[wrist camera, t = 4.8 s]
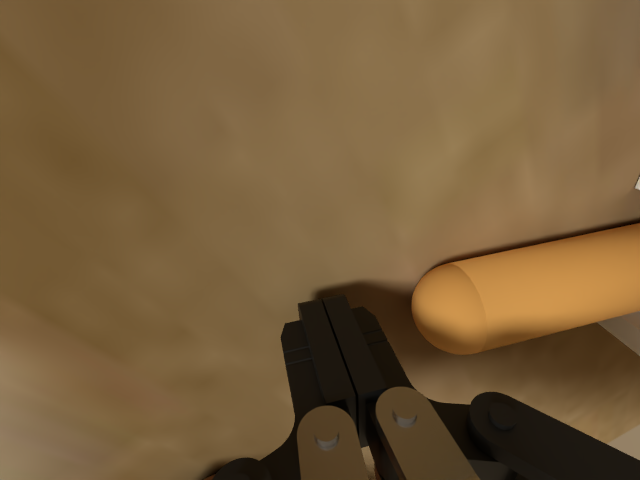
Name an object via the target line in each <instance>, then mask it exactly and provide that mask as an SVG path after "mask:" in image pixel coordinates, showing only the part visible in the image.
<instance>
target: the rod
mask: <svg viewBox="0 0 640 480" xmlns="http://www.w3.org/2000/svg"><path fill="white" fill-rule="evenodd" d="M637 311H640V223H637V224H633V225H628V226H623V227H618V228H614V229H609V230H604V231H599V232H595V233H590V234H585V235H580V236H576V237H571V238H566V239H561V240H557V241H552V242H547V243H542V244H538V245H533V246H528V247H523V248H518V249H514V250H509V251H504V252H499V253H495V254H490V255H485V256H480V257H476V258H471V259H466V260H461V261H457V262H452V263H447V264H444V265H441V266H438V267H436V268H434V269H432V270H431V271H429V272H428V273H426V274H425V275H424V276H423V277H422V278H421V280H420V281H419V283H418V284H417V286H416V288H415V290H414V293H413V296H412V315H413V319H414V322H415V324H416V326H417V328H418V330H419V331H420V333H421V334H422V335H423V337H424V338H425V339H426V340H427V341H429V342H430V343H431V344H432V345H434V346H435V347H437V348H439V349H441V350H442V351H446V352H449V353H452V354H459V355H468V354H475V353H479V352H483V351H487V350H491V349H495V348H498V347H502V346H506V345H510V344H514V343H518V342H522V341H525V340H529V339H533V338H537V337H541V336H545V335H549V334H553V333H556V332H560V331H564V330H568V329H572V328H576V327H580V326H583V325H587V324H591V323H595V322H599V321H603V320H607V319H610V318H614V317H618V316H622V315H626V314H630V313H634V312H637Z"/></svg>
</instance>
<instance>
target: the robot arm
mask: <svg viewBox="0 0 640 480" xmlns="http://www.w3.org/2000/svg"><path fill="white" fill-rule="evenodd" d="M298 311H299V318H300V320H299V321H294V322H290V323H285V325H284V328H283V331H282V335H281V342H282V348H283V353H284V359H285V365H286V370H287V376H288V381H289V386H290V392H291V397H292V402H293V408H294V413H295V422H294V427H293V429H292V432H291V434H290V436H289V437H288V439H287V440H286V441H285V442H284V443H283V444H282V445H281V446H280V447H279V448H278V449H276V450H275V451H274V452H272V453H271V454H269V455H268V456H266V457H265V458H263V459H262V460H260V461H258V460H256V459H253V458H239V459H236V460H233V461H231V462H229V463H228V464H226V465H225V466H223V467H222V468H221V469H220V470H219V471H218V472H217V473H216V474H215V476H214V477H213V479H212V480H369V478H368V474H367V470H366V466H365V462H364V458H363V454H362V450H361V448H362V447H366V446H369V448H370V451H371V454H372V456H373V459H374V472H375V476H376V479H377V480H640V460H637V459H636V458H634V457H631V456H630V455H627V454H625V453H623V452H621V451H619V450H617V449H615V448H613V447H611V446H609V445H607V444H605V443H603V442H601V441H599V440H597V439H595V438H593V437H591V436H589V435H587V434H585V433H583V432H581V431H579V430H577V429H575V428H573V427H571V426H569V425H567V424H564V423H562V422H560V421H558V420H556V419H554V418H552V417H550V416H548V415H546V414H544V413H542V412H540V411H538V410H536V409H534V408H532V407H530V406H528V405H526V404H524V403H522V402H520V401H518V400H516V399H514V398H512V397H510V396H507V395H505V394H502V393H497V392H485V393H481V394H479V395H477V396H476V397H475V398H474V399H473V400H472V402H471V405H466V404H451V403H440V402H436V401H433V400H431V399H428V398H426V397H425V396H424V395H423V394H421V393H420V392H418V391H417V390H415V388H414V387H413V386H412V385H411V383H410V381H409V380H408V378H407V376H406V374H405V372H404V370H403V368H402V366H401V365H400V363H399V361H398V359H397V357H396V355H395V353H394V351H393V349H392V348H391V346H390V344H389V342H388V341H387V338H386V336H385V334H384V332H383V331H382V329H381V327H380V325H379V323H378V321H377V319H376V317H375V316H374V315H373V314H372V313H370V312H369V311H368V310H367V309H365V308H364V307H358V308H353V309H351V308H350V306H349V303H348V301H347V299H346V297H345V295H344V294H341V295H336V296H331V297H327V298H322V299H321V300H320V299H318V300H313V301H308V302H303V303H298Z"/></svg>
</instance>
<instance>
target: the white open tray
mask: <svg viewBox="0 0 640 480" xmlns="http://www.w3.org/2000/svg"><path fill="white" fill-rule="evenodd" d="M635 188H636V189H639V190H640V177H639V180H638V182H637V184H636V187H635ZM597 323H598V324H599V325H601V326H602V327H603V328H604V329H606V330H607V331H608V332H610V333H611V334H612V335H613V336H615V337H616V338H617V339H619V340H620V341H621V342H622V343H624V344H625V345H626V346H627V347H629V348H630V349H631V350H633V351H634V352H635V353H636V354H638V355H639V356H640V311H637V312H634V313H630V314H626V315H622V316H618V317H614V318H610V319H607V320H603V321H599V322H597Z"/></svg>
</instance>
